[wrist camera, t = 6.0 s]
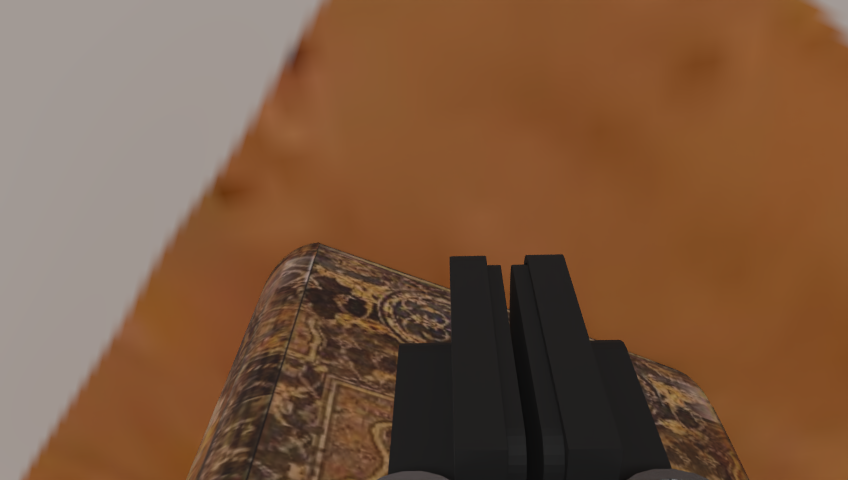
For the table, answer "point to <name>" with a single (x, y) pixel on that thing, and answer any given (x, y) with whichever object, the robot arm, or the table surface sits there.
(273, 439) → the book
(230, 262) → the table surface
